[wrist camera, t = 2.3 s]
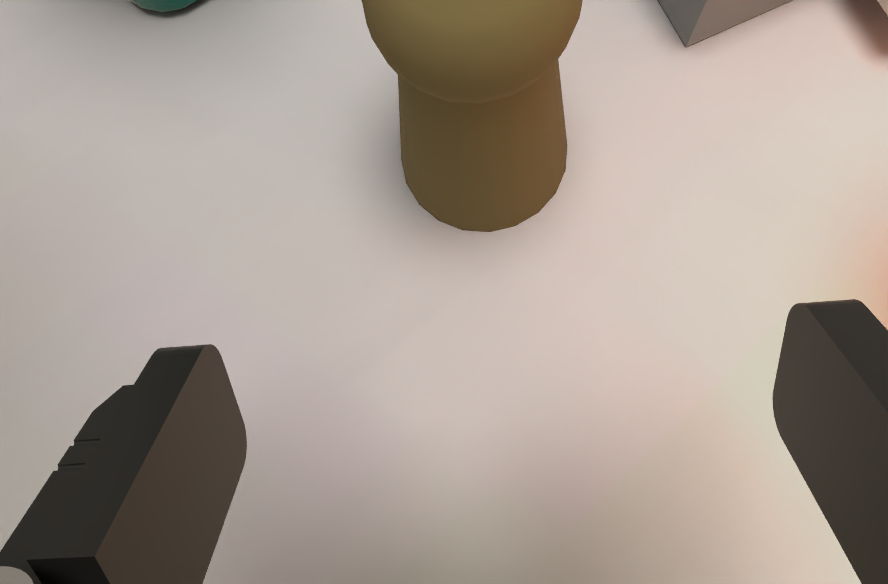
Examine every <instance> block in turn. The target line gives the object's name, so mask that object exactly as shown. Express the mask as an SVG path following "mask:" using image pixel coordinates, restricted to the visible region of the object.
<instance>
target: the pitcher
mask: <svg viewBox="0 0 888 584" xmlns="http://www.w3.org/2000/svg"><path fill="white" fill-rule="evenodd" d="M130 1H131V2H133V3H134V4H136V5H137V6H139V7H141V8H143V9H148V10H153V11H159V12H169V11H174V10H179V9H184V8H185V7H187V6H189V5H191V4H192V3H194V2H196V1H197V0H130Z"/></svg>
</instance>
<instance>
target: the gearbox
mask: <svg viewBox="0 0 888 584" xmlns="http://www.w3.org/2000/svg"><path fill="white" fill-rule="evenodd" d="M658 1H659V3H660V5H661V6H662V8H663V10H664V11H665V13H666V15H667V16H668V18H669V20H670V21H671V23H672V25H673V26H674V28H675V30H676V31H677V33H678V35H679V36H680V38H681V40H682V41H683V43H684V45H685V46H686V47H688V46H690V45H692V44H694V43H697V42H699V41H701V40H703V39H706V38H708V37H710V36H712V35H715V34H717V33H719V32H722V31H724V30H726V29H728V28H731V27H733V26H735V25H737V24H740V23H742V22H744V21H746V20H749V19H751V18H753V17H755V16H758V15H760V14H762V13H765V12H767V11H769V10H771V9H774V8H776V7H778V6H780V5H783V4H785V3H787V2H789V1H792V0H658ZM877 1H878V2H879V4H880V5H881V7H882V8H883V10H884V11H885V13H886V14H887V15H888V0H877Z"/></svg>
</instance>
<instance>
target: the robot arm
mask: <svg viewBox="0 0 888 584" xmlns="http://www.w3.org/2000/svg"><path fill="white" fill-rule="evenodd" d="M773 410H774V417H775V421H776V425H777V428H778V431H779V433H780V436H781V438H782V440H783V441H784V443H785V445H786V447H787V449H788V451H789V452H790V454H791V456H792V458H793V460H794V461H795V463H796V465H797V467H798V469H799V471H800V472H801V474H802V476H803V478H804V480H805V481H806V483H807V485H808V487H809V489H810V490H811V492H812V494H813V496H814V498H815V500H816V501H817V503H818V505H819V507H820V509H821V510H822V512H823V514H824V516H825V518H826V520H827V521H828V523H829V525H830V527H831V529H832V530H833V532H834V534H835V536H836V538H837V540H838V541H839V543H840V545H841V547H842V549H843V550H844V552H845V554H846V556H847V558H848V560H849V561H850V563H851V565H852V567H853V569H854V570H855V572H856V574H857V576H858V578H859V579H860V581H861V583H862V584H888V330H887V329H886V328H885V327H884V326H883V325H882V324H881V322H880V321H879V320H878V319H877V318H876V317H875V316H874V315H873V314H872V312H871V311H870V310H869V309H868V308H867V307H866V306H865V305H864V304H863V303H862V302H860V301H859V300H855V299H853V300H840V301H826V302H812V303H798V304H795V305H794V306H793V307H792V308H791V310H790V312H789V314H788V318H787V322H786V327H785V333H784V338H783V343H782V348H781V353H780V359H779V364H778V369H777V374H776V379H775V385H774V390H773ZM246 449H247V440H246V430H245V425H244V422H243V419H242V416H241V413H240V410H239V407H238V404H237V401H236V398H235V395H234V392H233V389H232V386H231V383H230V380H229V377H228V374H227V372H226V369H225V366H224V363H223V360H222V357H221V355H220V353H219V351H218V349H217V348H216V347H215V346H214V345H211V344H210V345H196V346H182V347H169V348H159V349H157V350H156V351H155V352H154V353H153V355H152V356H151V358H150V359H149V361H148V363H147V364H146V366H145V367H144V369H143V371H142V372H141V374H140V376H139V377H138V379H137V380H136V382H135V384H134V385H125V386H122V387H121V388H120V389H119V390H118V391H116V392H115V393H114V394H113V395H112V396H110V397H109V398H108V399H107V400H106V401H105V402H103V403H102V404H101V405H100V406H99V407H97V408H96V409H95V410H94V411H93V412H92V413H91V415H90V416H89V418H88V420H87V421H86V423H85V424H84V426H83V427H82V429H81V430H80V432H79V433H78V435H77V436H76V438H75V439H74V446H70V447H69V448H68V450H67V451H66V453H65V454H64V456H63V457H62V459H61V460H60V462H59V464H58V471H53V473H52V474H51V476H50V477H49V479H48V480H47V482H46V483H45V485H44V486H43V488H42V489H41V491H40V492H39V494H38V495H37V497H36V498H35V500H34V501H33V503H32V504H31V506H30V508H29V509H28V511H27V512H26V514H25V515H24V517H23V518H22V520H21V521H20V523H19V524H18V526H17V527H16V529H15V530H14V532H13V533H12V535H11V536H10V538H9V539H8V541H7V542H6V544H5V545H4V547H3V548H2V550H1V552H0V584H202V583H203V580H204V578H205V575H206V572H207V569H208V566H209V563H210V561H211V558H212V555H213V552H214V549H215V546H216V544H217V541H218V538H219V535H220V532H221V530H222V527H223V524H224V521H225V518H226V515H227V513H228V510H229V507H230V504H231V501H232V498H233V496H234V493H235V490H236V487H237V484H238V481H239V479H240V476H241V473H242V470H243V467H244V463H245V458H246Z"/></svg>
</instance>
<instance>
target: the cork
mask: <svg viewBox="0 0 888 584" xmlns="http://www.w3.org/2000/svg"><path fill="white" fill-rule="evenodd" d="M362 3H363V8H364V13H365V18H366V22H367V26H368V29H369V31H370V34H371V37H372V39H373V41H374V42H375V44H376V45H377V47H378V49H379V50H380V52H381V53H382V55H383V56H384V58H385V60H386V61H387V63H388V64H389V65H390V66H391V67H392V69H393V70H394V71H395V72H396V73H397V74H398V87H399V111H400V136H401V160H402V165H403V169H404V174H405V178H406V183H407V185H408V187H409V188H410V190H411V191H412V193H413V195H414V196H415V198H416V200H417V201H418V203H419V204H420V205H421V206H422V207H423V208H424V209H426V210H427V211H428V212H429V213H430V214H432V215H433V216H434V217H435V218H436V219H438V220H439V221H442V222H444V223H447V224H449V225H452V226H454V227H457V228H459V229H462V230H471V231H485V232H491V231H495V230H499V229H504V228H508V227H512V226H516V225H518V224H519V223H521V222H523V221H524V220H526V219H528V218H530V217H531V216H533V215H535V214H536V213H538V212H539V211H540V210H541V209H542V208H543V207H544V205H545V204H546V203H547V202H548V201H549V200H550V199H551V198H552V197H553V195H554V194H555V193H556V191H557V189H558V186H559V184H560V182H561V179H562V177H563V175H564V172H565V169H566V155H567V139H566V130H565V121H564V111H563V102H562V92H561V83H560V74H559V64H558V58H559V57H560V55H561V54H562V52H563V51H564V49H565V48H566V46H567V44H568V42H569V39H570V37H571V35H572V33H573V30H574V28H575V26H576V24H577V21H578V19H579V16H580V11H581V6H582V0H362Z"/></svg>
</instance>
